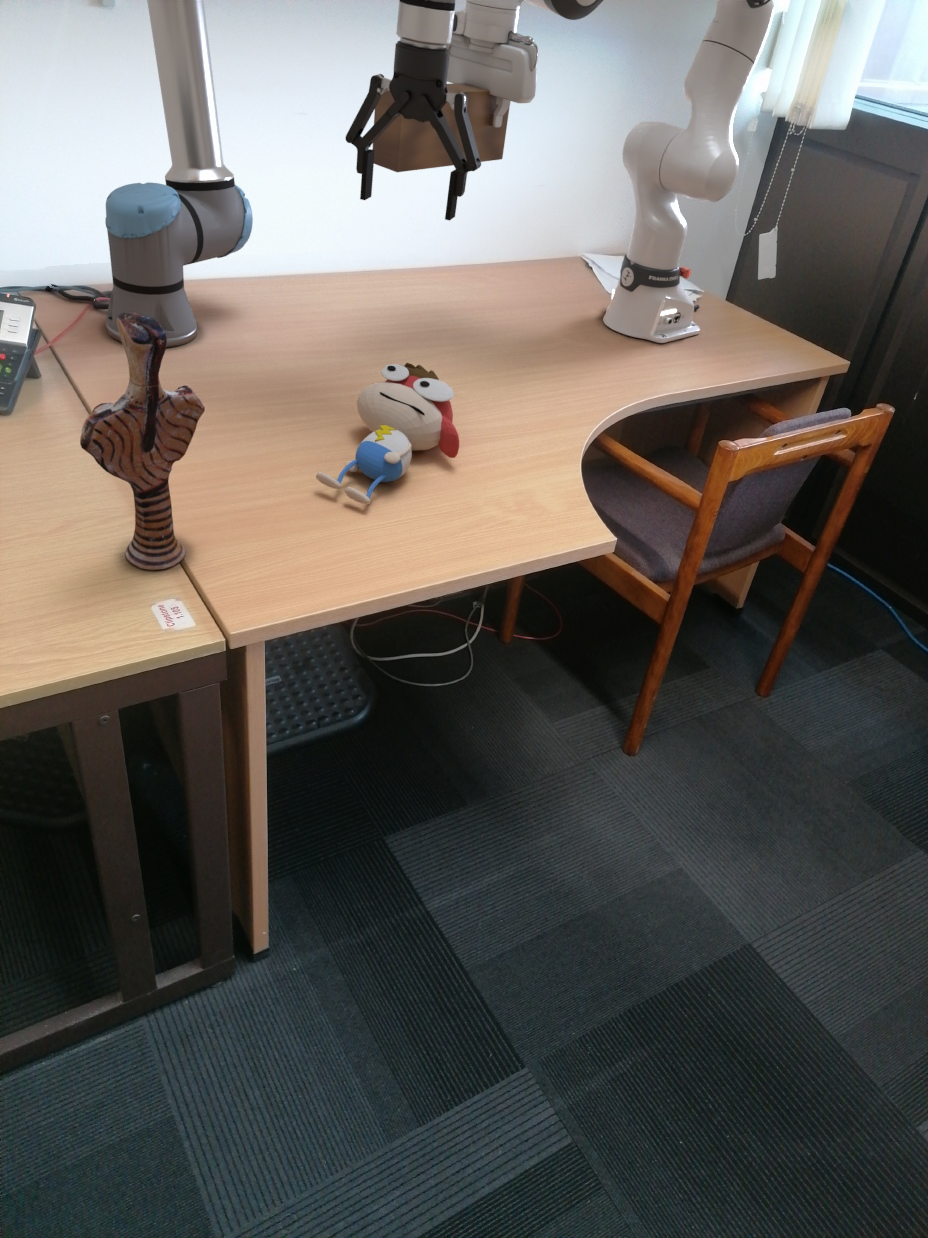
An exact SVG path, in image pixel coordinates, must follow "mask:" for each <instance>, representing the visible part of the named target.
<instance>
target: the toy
mask: <svg viewBox="0 0 928 1238" xmlns="http://www.w3.org/2000/svg"><path fill="white" fill-rule="evenodd" d="M380 371H381V372H380V373H381V376H382V377H383V378H384V379H385V381H381V382H374V383H371V384H369V385H368V386H366V387H365V388H363V389H362V390H361V391H360V393H359V395H358V397H357V399H356V404H357V406H356V407H357V412H358V414H359V417H360V418H361V420H362V422H363V424H365V426H366V427H367V428H368V429H369V430H370V431H371V433H369V434H368V435H367V436H365V438H364V439H362V441H361V442H360V443H359V445H358V447H357V449H356V451H355V457H354V459H353V460H348V461H347V462H345V464H344V465H345V466H344V468H343V469H342V470H341V472H340V473H339V475H338V477H337V479H336V478H334V477H333V476H331V475H330V474H327V473H325V472H322V471H318V472H316V474H315V478H316V480H317V482H318V483H319V482H320V483H321V484H322V485H324V486H326V487H328V488H331V489H334V490H339V489H341V488H342V482H343V479H344V477H345V475H346V474H347V473H348V472H350V473H356V472H358V471H360V472H362V474H364V475H365V476H366V477H368V478H369V479H372V480H374V481H373V482H372V483H371V485H370V486H369V488H368V489H367V492H366V494H365V493H363V492H362V491H360V490H359V489H356V488H354V487H352V486H347V487H345V489H344V493H345V494H344V495H346V496H347V497H348V498H350V499H351V500H353V501H354V502H357V503H360V504H364V505H369V504H371V496H372V494H373V491H374V490H375V488H376V487H377V486H378V485H379V483H389V482H391V483H392V482H394V481H396V480H399V479H400V478H401V477H402V476H403V475H405V473H406V472H407V471H408V469H409V468H410V467H409V466H410V464H411V461H412V457H413V451H428V450H431V449H433V448H434V447H438V448H439V450H440V451H441V452H442V453H443V454H444V455H445V456H446V457H448V458H450V459H455V458H456V457H457V456H458V454H459V449H460V437H459V433H458V430H457V428H456V427H455V425H454V423H453V422H454V421H453V420H454V412H453V407H452V404H451V403H452V402H451V400H452V399H453V398H454V397H455V392H454V390H453V388H452V387H451V386H450V385H448V384H447V383H446V382H444V381H442V380H440V378H439V376H438V375H437V373H436V372H435V371H434V370H433V369H430V370H429V371H428V370H427V369H426V368H424V367H423V366H422V365H421V364H417V365H416V366H415V365H413V363H409V362H406V363H405V364H404V365H403V364H398V363H391V364H386V365H385V366H384V367H382V369H381V370H380Z"/></svg>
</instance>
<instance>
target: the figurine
mask: <svg viewBox="0 0 928 1238" xmlns="http://www.w3.org/2000/svg"><path fill="white" fill-rule="evenodd" d="M116 321H117V326H118V330H119V334H120V338H121V341H122V342H121V344H122V346H123V350H124V352H125V355H126V359H127V364H128V375H129V379H128V384H127V388H126V390H125V392H124V394H122V395H120V397H119V399H117V401H115V402H114V403H113V402H102V403H99V404H97V405H96V406H95V407H94V408H93V409H92V412H91V414H88V416H87V417H86V418H85V420H84V422H83V425H82V428H81V434H80V439H79V444H80V448H81V449H82V450H84V451H85V452H87V453H88V454H89V455H90V456H91V457H92V458H93V459H94V460H95V462H96V463H97V464H98V466H100V467H101V468H102V470H104V471H105V473H108V474H110V475H111V476H113V477H115V478H118V479H120V480H122V481H124V482H127V483H128V484H129V485H130V488H131V490H132V493H133V501H134V503H133V504H134V512H135V513H134V522H135V523H134V530H133V536H132V539H131V541H130V543H128V545H127V546H126V548H125V552H124V554H125V557H126V560H128V561H129V562H130V563H131V564H133V565H134V566H137V567H138V568H140V569H144V570H151V571H153V570H164V569H168V568H172V567H174V566H175V565H176V564H178V563H180V562H181V561H182V560H183V559H184V557H185V556H186V548H185V546H184V545H183V544H182V543H181V542H179V540H178V539H177V538H176V536H175V530H174V529H175V528H174V518H173V507H172V499H171V491H170V483H169V481H170V480H169V479H170V474H171V471H172V470H173V465H174V463H176V462H179V461H180V460H181V459H183V458H184V456H185V455H186V453H187V451H188V449H189V446H190V444H191V442H192V440H193V437H194V434H195V432H196V429H197V426H198V423H199V421H200V418H201V417H202V415H204V413H205V411H206V410H205V406H204V404H203V402H202V401H201V399H200V398H199V397H198V396H197V394H196V393H195V391H194V390H193V388H191V387H190V386H189V385H182V386H179V387H177V389H173V390H168V389H167V390H166V389H164V388H163V386H162V383H161V381H160V369H161V366H162V361H163V359H164V356H165V354H166V349H167V347H166V343H167V337H166V333H165V330H164V328H163V327H162V326H161V324H160V322H158V321H157V320H156V319H154V318H152V317H150V316H144V315H142V314H139V313H134V312H125V313H122V314H120V315H119V316H118V317H117V320H116Z"/></svg>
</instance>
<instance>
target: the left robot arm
mask: <svg viewBox="0 0 928 1238" xmlns="http://www.w3.org/2000/svg"><path fill="white" fill-rule="evenodd" d="M204 2H205V1H204V0H146V3H147V9H148V15H149V22H150V28H151V35H152V41H153V48H154V54H155V60H156V61H155V62H156V67H157V74H158V80H159V87H160V94H161V101H162V106H163V107H162V108H163V112H164V113H163V114H164V120H165V126H166V133H167V140H168V147H169V153H170V158H171V167H170V168H169V169H168V171H167V172H166V174H164V180H165V184H162V183H160V182H159V183H158V182H146V183H141V182H133V183H129V184H124V185H122V186H118V187H117V188H114V190H112V191H111V192H110V193H109V194H108V196H107V197H106V201H105V218H104V219H105V222H104V224H105V228H106V233H107V240H108V249H109V257H110V258H109V259H110V268H111V277H112V291H111V295H110V300H109V303H107V304H106V303H98V301H97V299H96V298H95V297H93V296H90V295H74V294H70V293H68V292H66V291H64V290H63V289H62V290H59V291H58V292H57V291H56V290H54V289H53V288H50V287H49V286H48V285H47V286H46V287H45V288H44V291H46V292H50V291H52V290H54V291H56V292H57V293H58V294H59V295H60V296H62V297H63V298H65V299H67V300H69V301H70V300H71V301H74V302H75V301H77V302H90V303H92V307H93V308H94V309H97V310H107V311H106V315H105V326H106V328H105V329H106V332H107V334H108V335H109V336H110V337H111V338H112V339H114V340H116V341H117V342H120V343H122V341H121V338H120V334H119V330H118V326H117V321H116V320H117V317H118V316H119V315H120V314H122V313H125V312H134V313H139V314H142V315H144V316H150V317H152V318H154V319H156V320H157V321H158V322H160V324H161V326H162V327H163V328H164V330H165V333H166V337H167V343H166V348H171V347H177V346H182V345H184V344H187V343H189V342H191V341H193V340H194V339H195V338H196V337H197V335H198V324H197V320H196V317H195V315H194V311H193V309H192V306H191V304H190V300H189V298H188V296H187V293H186V290H185V278H184V276H185V275H184V267H185V266H187V265H191V264H197V263H200V262H205V261H208V260H212V259H216V258H217V259H220V258H224V257H227V256H229V255H230V254H232V253H237V252H238V251H240V250H242V249H243V247H244V246H245V245H246V243H248V241H249V239H250V237H251V234H252V230H253V223H254V220H253V210H252V206H251V203H250V200H249V199H248V198H247V197H246V193H245V192H244V190H243V189H242V188H241V187H240V186H238V185H237V184H236V182H235V174H234V173H233V172H232V171H230V169H229V168H227V166H226V165H225V164H224V157H223V149H222V141H221V133H220V124H219V117H218V108H217V99H216V92H215V84H214V75H213V69H212V68H213V66H212V59H211V58H212V57H211V51H210V43H209V35H208V26H207V19H206V17H207V16H206V10H205V3H204ZM455 9H456V0H398V11H397V24H396V32H395V34H396V36H397V37H398V38H399V40H398V41H397V42H396V43H395V45H394V46H395V48H394V58H393V75H392V78H391V79H389V78H387V77H385V76H384V75H383V74H382V73H378V74H374V75H372V76H371V77H370V81H369V86H368V92H367V94H366V96H365V98H364V100H363V102H362V103H361V106H360V107H359V110H358V112H357V114H356V115H355V117H354V119H353V121H352V123H351V125H350V127H349V129H348V131H347V133H346V135H345V141H346V143H347V144H350V145H353V146H354V147H355V148H356V168H355V169H356V173H357V174H360V175H361V181H360V195H359V200H361V201H367V200H368V199H370V198H372V194H373V179H374V165H375V164H374V153H375V150H373V149H371V147H372V146H373V142H374V141H375V140H376V139H377V138H378V137H379V136H380V135H381V134H382V133H383V132H384V131H385V130H386V129H387V128H388V126H389V125H390V124H391V123H392V122H393V121H394V120H395V119H396V118H397V117H398V116H399V115H400V114H401V115H402V116H403V117H404V118H405V119H415V120H417V121H419V122H423V123H424V122H428V121H429V122H430V124H431V125H432V127H433V128H434V129H435V130H436V132H437V134H438V136H439V138H440V140H441V142H442V144H443V146H444V148H445V150H446V151H447V153H448V155H449V157H450V159H451V161H452V163H453V165H452V166H454V170H452V171H450V175H449V183H448V190H447V191H448V192H447V201H446V206H445V207H446V208H445V216H444V220H445V221H449V222H451V220H452V219H454V218H456V213H457V212H456V211H457V205H458V198H461V197H462V196H464V194H465V192H466V186H467V178H468V173H469V172H475V171H477V170H478V169H479V168H481V167H482V162H481V160H480V157H479V153H478V149H477V145H476V142H475V138H474V134H473V130H472V127H471V123H470V119H469V115H468V112H467V101H468V96H467V93H466V92H461V93H448V91H447V86H446V84H448V82H447V76H448V67H449V58H450V52H449V50H448V49H447V48H446V45H449V44H450V43H451V39H452V30H453V22H454V14H455V11H456V10H455ZM387 89H389V90H390V93H391V95H392V97H393V99H394V101H395V102H394V103H393V104H392V105H391V106H390V107H389V108H388V109H387V110H386V112H385V113H384V114H383V116H382V117H381V118H380V119H379V120H378V121H377V122H376V123H375V124H374V123H373V125H372V127H370V128H369V129H368V131H367V132H366V133H365V134H364V135H363V136H362V133H363V132H364V130H365V129H366V126H367V125H368V123H369V121H370V119H371V117H372V115H373V113H374V112H375V107H376V106H377V104H378V102H379V100H380V98H381V95H382V94H385V93H386V91H387ZM446 102H449V104H450V107H451V109H452V110H453V111H454V114H455V119H456V123H457V127H458V130H459V134H460V137H461V141H462V145H463V148H464V152H465V156H466V158H465V156H464V154H463V152H462V151H461V149H460V147H459V145H458V143H457V141H456V139H455V137H454V135H453V133H452V131H451V129H450V127H449V125H448V123H447V119H446V117H445V115H444V113H443V111H442V107H443V106H444V105H445V104H446ZM369 148H370V149H369ZM466 159H467V160H466ZM50 284H51V285H52V286H54V287H59V286H58V285H57V284H55V283H50ZM94 299H95V301H94Z"/></svg>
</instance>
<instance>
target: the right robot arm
mask: <svg viewBox="0 0 928 1238" xmlns="http://www.w3.org/2000/svg"><path fill="white" fill-rule="evenodd" d="M523 2H525V3H527V4H528V5H531V6H534V7H537V8H540V9H542V10H545V11H549V12H552V13H554V14H556V15H558V16H560V17H562V18H564V19H565V20H566V19H567V20H569V21H570V20H571V21H577V20H581V19H583V18H586V17H588V16H589V15H590V14H591V13H592V12H594V11H595V10H596V9H597V8H598V7H599V6H600V5H601V4H602V3H603V2H604V0H466V1H465V7H464V8H462V9H460V10H455V14H454V22H453V30H452V39H451V43H450V44H449V45H446V48H447V49H448V50H449V52H450V58H449V67H448V76H447V83H449V84H454V83H465V84H469V85H472V86H475V87H479V88H482V89H486V90H489V91H490V95H493V96H496V97H497V100H496V104H498V107H497V109H496V111H495V113H494V114H490V121H489V125H490V126H493V127H501V125H502V118H503V115H504V114H505V112H506V111H507V109H508V108H509V109H510V107H511V102H512V103H515V104H529V103H531V102H532V101H533V100H534V98H535V96H536V91H537V79H538V61H539V47H538V45H537V43H536V42H535V40H534V38H533V37H531V36H529V35H522V34H520V33H518V27H519V20H520V13H521V7H522V6H521V5H522V3H523ZM716 2H717V3H716V10H715V14H714V17H713V19H712V20H711V23H710V24H709V26H708V28H707V30H706V31H705V34H704V36H703V38H702V40H701V43H700V44H699V47H698V49H697V52H696V54H695V56H694V58H693V61H692V62H691V65H690V67H689V70H688V72H687V74H686V76H685V79H684V80H683V85H682V86H683V89H682V90H683V96H684V98H685V100H686V102H687V103H688V105H689V106H690V110H691V111H690V118H689V122H688V125H687V127H686V128H682V127H680V126H676V125H673V124H670V123H667V122H665V121H664V122H663V121H641V122H639V123H637V124H636V125H634V126H633V128H632V129H631V130H630V131H629V132H628V134H627V135H626V138H625V140H624V143H623V146H622V147H623V148H622V153H621V154H622V163H623V167H624V168H625V169H626V171H627V174H628V176H629V179H630V182H631V185H632V190H633V191H632V192H633V198H634V217H633V226H632V229H631V235H630V239H629V244H628V248H627V251H626V254H625V255H624V256H623V260H622V261H621V266H620V271H619V272H620V274H619V276H620V277H619V278H618V281H617V284H616V287H615V289H614V288H612V293H611V301H610V303H609V306H607V307H606V310H605V313H604V316H603V317H602V321H603V323H604V325H605V326H607V327H608V328H610V329H611V330H613V331H615V332H617V333H620V334H621V335H622V334H623V335H625V336H629V337H632V338H638V339H641V340H647V341H651V342H654V343H657V344H665V343H669V342H674V341H677V340H680V339H685V338H688V337H692V336H696V335H699V334H700V332H701V328H700V326H699V325H697V323H695V322H694V321H693V317H694V313H695V311H696V310H698V309H700V304H695V305H694V301H693V300H692V298H691V297H690V296H689V294H688V293H687V292H686V290H684V288H683V287H682V285H681V284H680V282H681V277H682V278H683V279H685V280H687V279H689V278H690V277H691V275H692V270H691V269H690V268H687V267H686V266H682V267H681V266H680V260H681V257H682V253H683V250H684V247H685V243H686V239H687V236H688V223H687V220H686V219H685V217H684V215H683V214H682V211H681V210H680V207H679V202H678V195H679V196H681V197H684V198H685V199H686V198H687V199H689V200H691V201H696V202H697V201H698V202H704V203H705V202H706V203H716V202H718V201H721V200H722V199H724V198H725V197H726V196H727V195H728V194H729V193H730V191H731V190H732V189H733V187H734V185H735V184H736V182H737V179H738V176H739V172H740V171H739V169H740V162H739V157H738V154H737V152H736V149H735V146H734V141H733V127H734V120H735V115H736V112H737V108H738V105H739V103H740V100H741V98H742V96H743V93H744V91H745V89H746V86H747V85H748V82H749V80H750V78H751V75H752V74H753V71H754V69H755V67H756V65H757V62H758V60H759V58H760V56H761V53H762V51H763V49H764V46H765V43H766V40H767V38H768V35H769V33H770V29H771V25H772V23H773V18H774V15H775V5H774V1H773V0H717V1H716ZM509 106H510V107H509Z"/></svg>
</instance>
